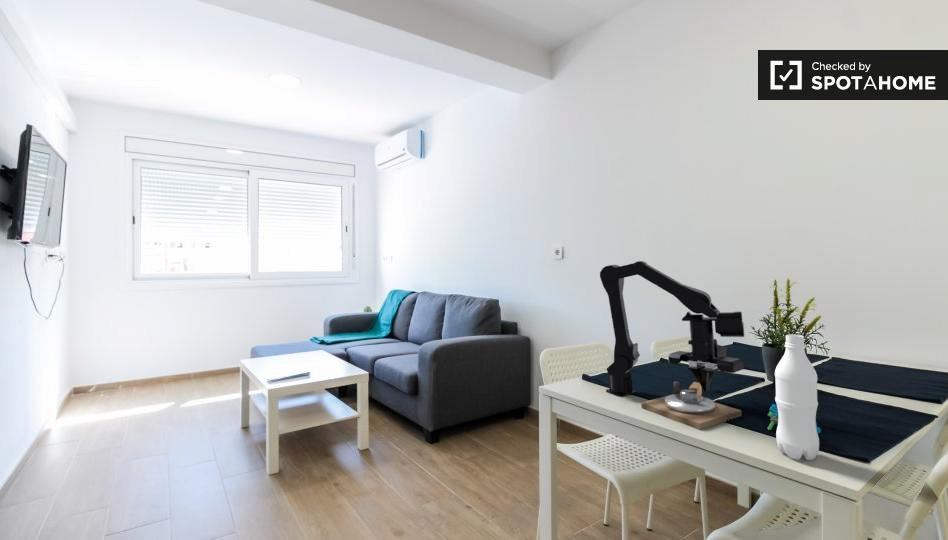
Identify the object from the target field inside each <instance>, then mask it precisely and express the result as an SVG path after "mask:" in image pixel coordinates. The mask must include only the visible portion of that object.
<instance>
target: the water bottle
mask: <svg viewBox="0 0 948 540" xmlns="http://www.w3.org/2000/svg"><path fill="white" fill-rule="evenodd" d="M804 339H805V337H804V335H801V334H791V333H790V334H786V335H785V342H784V344H783V345H784V347H785V351H784V354H783V356H781V359H780V360H779V362H778V363H777V365H776V366H775V367H776V368H775V370H774V376H775V378H774V379H775V397H774V400H775V403H776V404H775V405H777V408H778V416H779V419H778V424H777V427H776V433H775V436H776V437H775V438H776V440H775V441H776V445H777V448H778V450H779V451H780V453H782V454H783V455H787V457H789V458H790V459H792V460H796V461H797V460H800V459H801V458H802V456H803V457H804V459H805V460H806V461H813V460H815V458H816V457H817V456H818V454H819V450H820V438H819V433H818V434H817V430H816V423H817V421H816V419H817V416H816V415H817V410H818V406H819V401H818V374H817V372H816V371H817V370H815V367H814V366H813V364H812V363H811V361H810V360H809V358H808V357H807V354H806V352H805V349H806V347H807V346H805V345H806V344H805V343H804V342H805V340H804Z"/></svg>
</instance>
